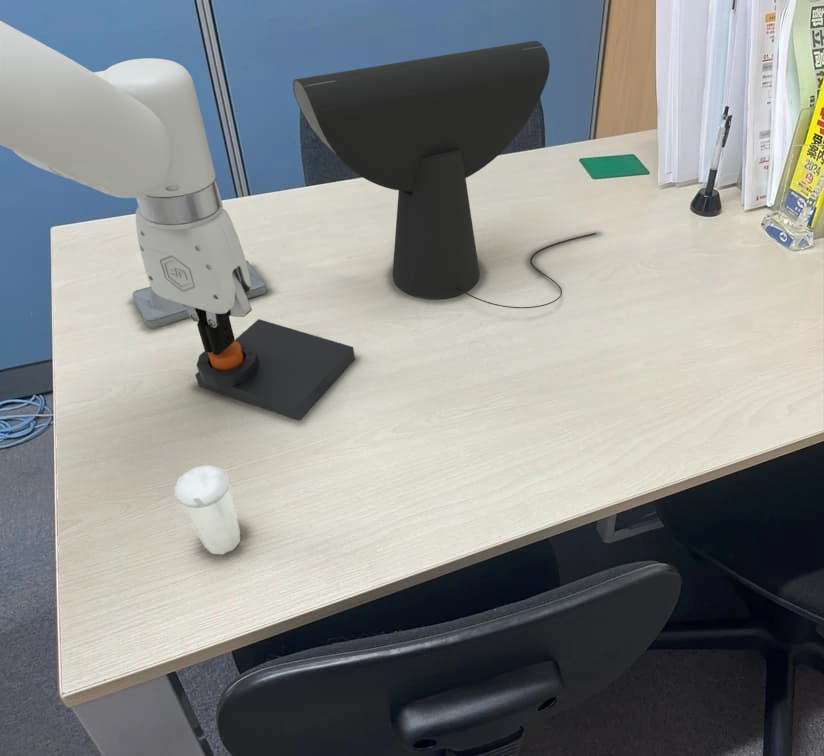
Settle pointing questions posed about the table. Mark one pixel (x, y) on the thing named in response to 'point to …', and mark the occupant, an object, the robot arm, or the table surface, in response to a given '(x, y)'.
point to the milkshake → (210, 507)
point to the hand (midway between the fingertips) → (220, 346)
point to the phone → (168, 311)
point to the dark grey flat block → (278, 369)
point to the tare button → (227, 357)
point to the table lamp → (429, 146)
